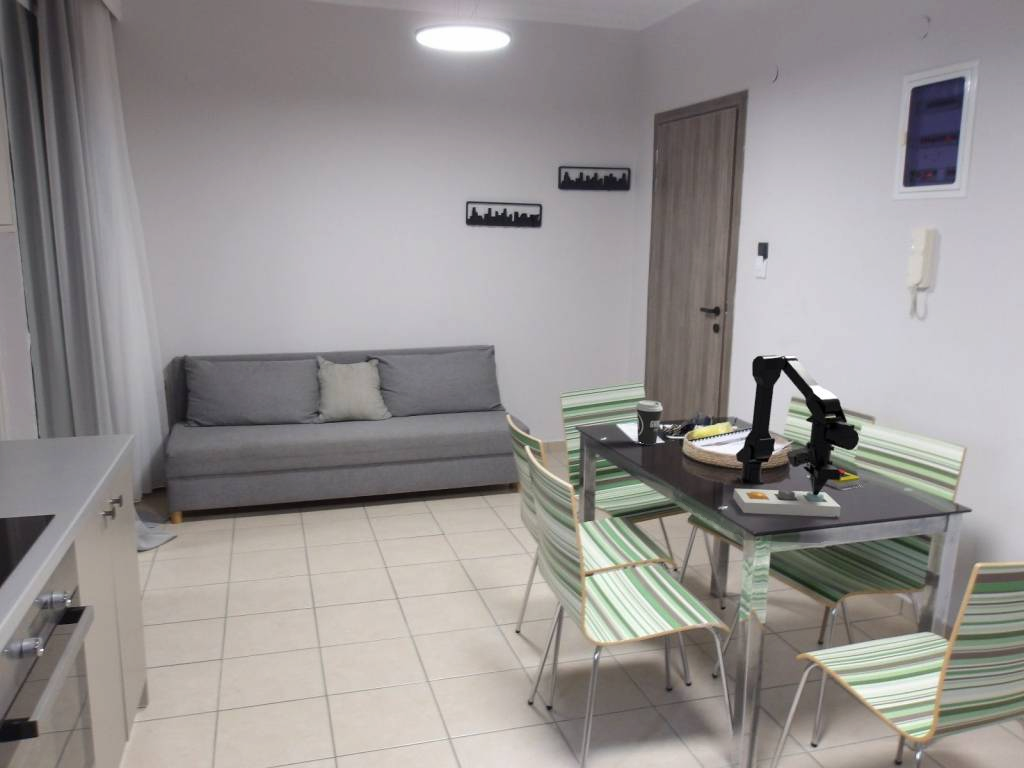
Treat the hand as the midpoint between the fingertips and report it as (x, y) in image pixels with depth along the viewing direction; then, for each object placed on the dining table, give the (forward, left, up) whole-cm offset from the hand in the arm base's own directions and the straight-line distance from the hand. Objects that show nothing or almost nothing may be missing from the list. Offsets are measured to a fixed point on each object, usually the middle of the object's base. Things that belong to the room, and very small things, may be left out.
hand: (815, 494), depth 223 cm
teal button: (0, 0, -3) cm, 3 cm away
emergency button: (-27, +15, -5) cm, 31 cm away
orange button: (0, -16, -3) cm, 16 cm away
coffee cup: (-64, -38, -4) cm, 75 cm away
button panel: (0, -8, -4) cm, 9 cm away
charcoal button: (0, -8, -2) cm, 8 cm away
